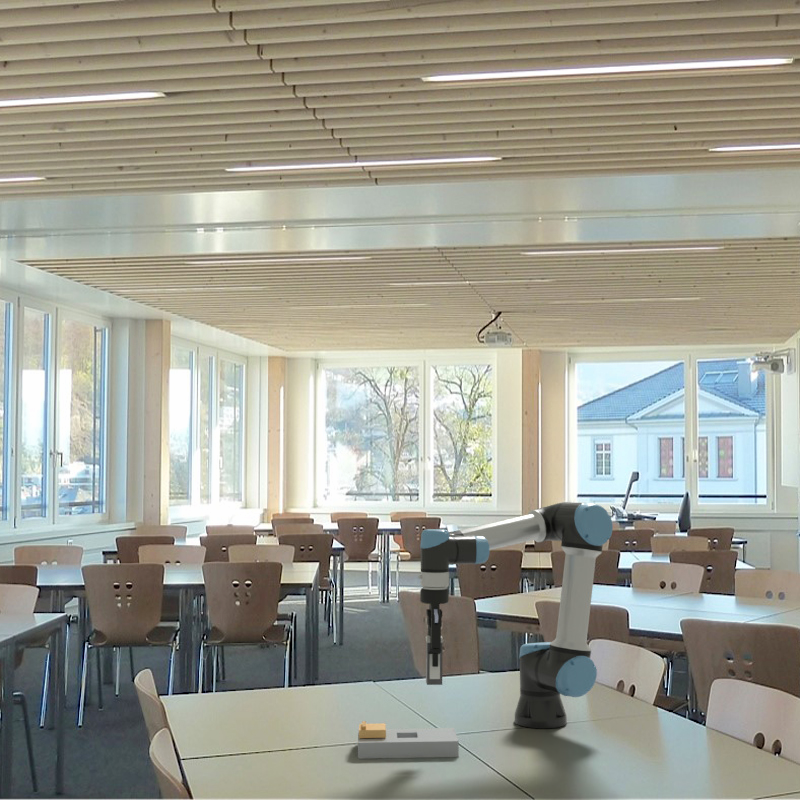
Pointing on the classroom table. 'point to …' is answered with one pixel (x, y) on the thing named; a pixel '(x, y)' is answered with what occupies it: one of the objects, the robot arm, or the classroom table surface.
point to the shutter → (372, 730)
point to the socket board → (411, 744)
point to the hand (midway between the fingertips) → (433, 676)
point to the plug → (428, 680)
